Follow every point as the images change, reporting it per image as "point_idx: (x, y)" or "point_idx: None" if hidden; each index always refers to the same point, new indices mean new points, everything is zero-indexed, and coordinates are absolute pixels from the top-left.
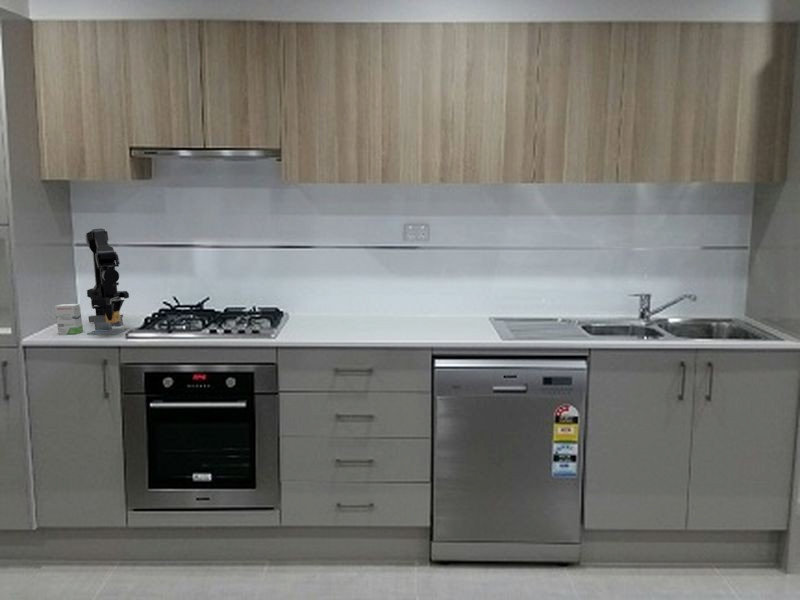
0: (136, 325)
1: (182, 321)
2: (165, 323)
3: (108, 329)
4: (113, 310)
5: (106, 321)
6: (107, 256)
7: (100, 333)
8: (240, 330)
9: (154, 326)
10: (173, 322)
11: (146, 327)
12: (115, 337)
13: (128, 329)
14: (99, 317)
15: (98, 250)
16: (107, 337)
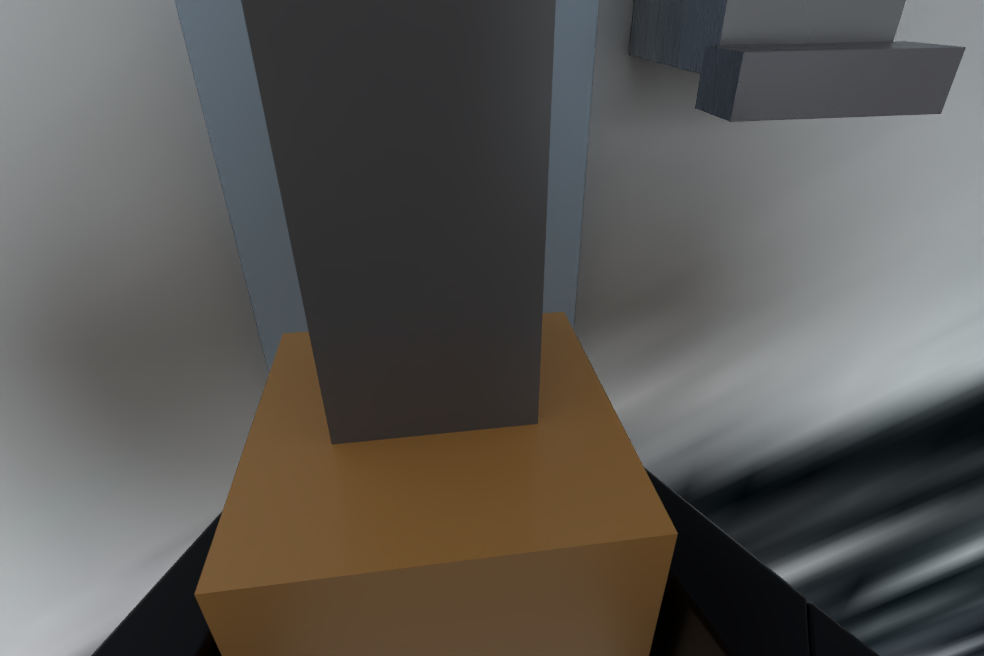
0: (935, 333)
1: (940, 647)
2: (906, 577)
3: (635, 55)
4: (683, 639)
5: (279, 371)
6: None
7: (208, 132)
8: None
9: None
10: (927, 611)
11: (730, 524)
12: (65, 536)
13: (643, 388)
14: (273, 126)
15: None
16: (11, 434)
